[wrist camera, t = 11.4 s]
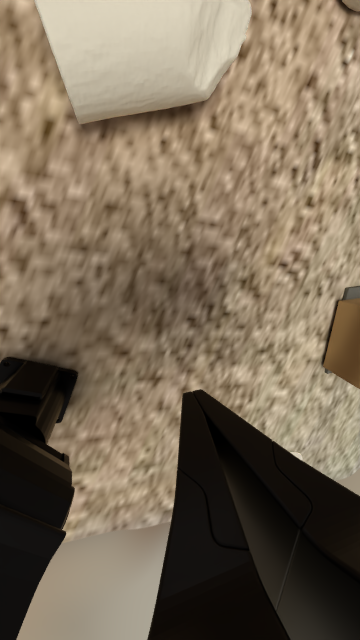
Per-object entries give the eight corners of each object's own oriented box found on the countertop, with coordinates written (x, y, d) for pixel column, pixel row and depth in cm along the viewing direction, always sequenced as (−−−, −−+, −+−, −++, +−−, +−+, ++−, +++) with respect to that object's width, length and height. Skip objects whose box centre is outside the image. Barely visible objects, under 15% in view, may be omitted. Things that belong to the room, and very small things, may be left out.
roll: (231, 115, 16) (278, 55, 11) (84, 141, 15) (62, 85, 10) (220, 5, 14) (273, -132, 9) (45, 21, 12) (-13, -136, 7)
